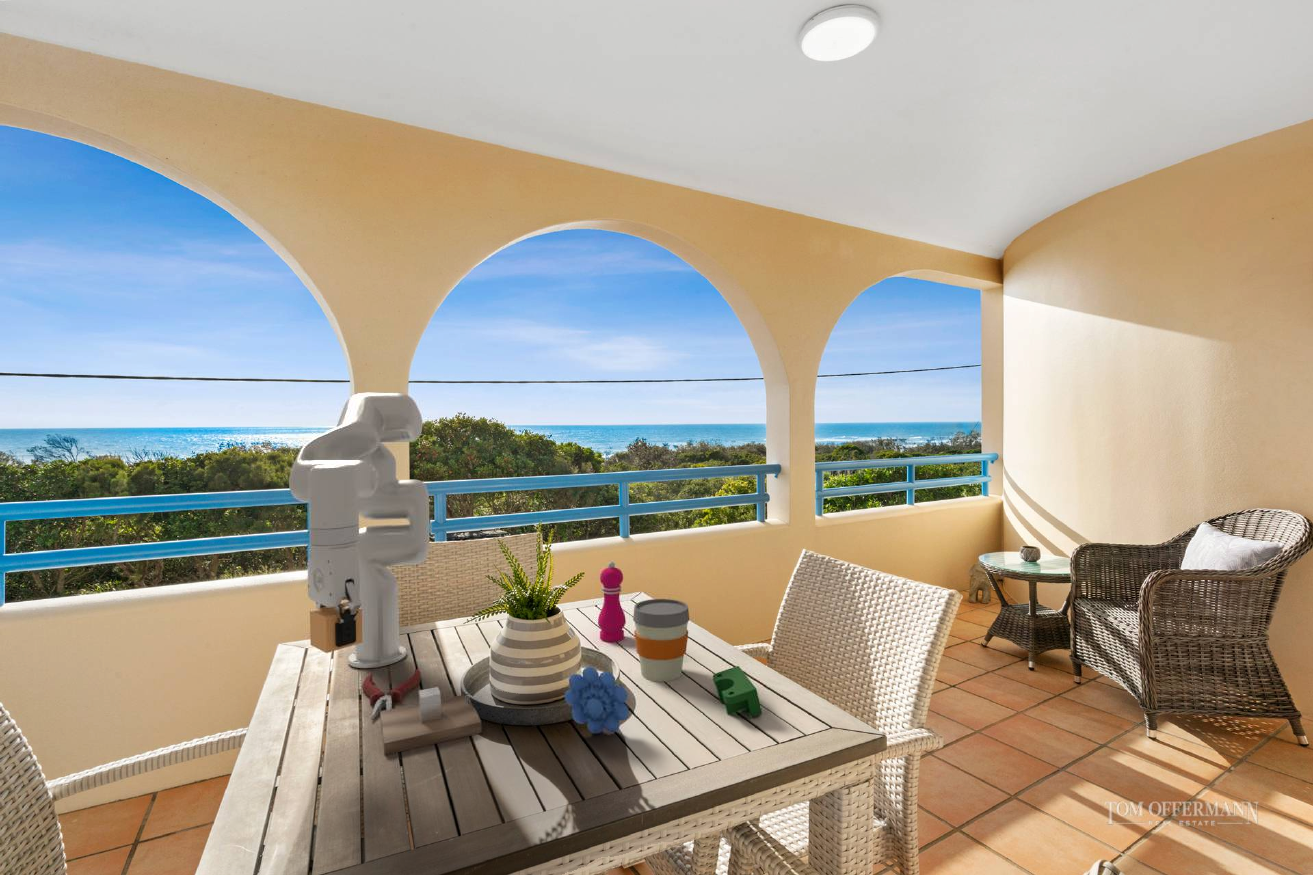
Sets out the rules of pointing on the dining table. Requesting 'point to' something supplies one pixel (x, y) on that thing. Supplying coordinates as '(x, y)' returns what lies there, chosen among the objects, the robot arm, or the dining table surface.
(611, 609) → the pepper mill
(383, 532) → the robot arm
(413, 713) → the board
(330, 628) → the matte orange cube
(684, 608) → the reusable coffee cup
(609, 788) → the dining table surface
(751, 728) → the dining table surface
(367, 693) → the pliers
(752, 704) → the clamp
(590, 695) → the blue knobbed flower
